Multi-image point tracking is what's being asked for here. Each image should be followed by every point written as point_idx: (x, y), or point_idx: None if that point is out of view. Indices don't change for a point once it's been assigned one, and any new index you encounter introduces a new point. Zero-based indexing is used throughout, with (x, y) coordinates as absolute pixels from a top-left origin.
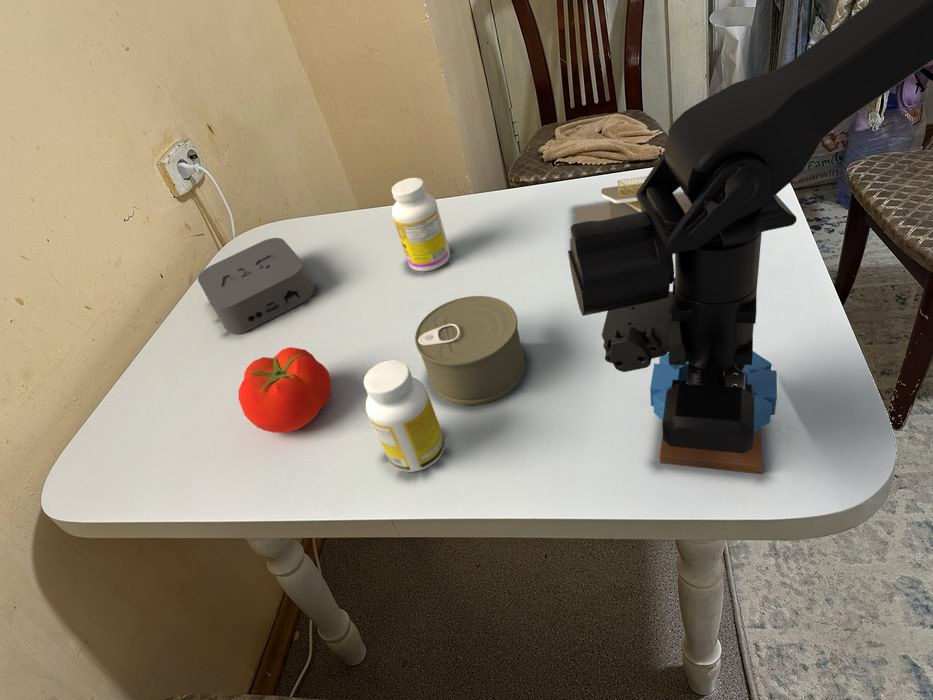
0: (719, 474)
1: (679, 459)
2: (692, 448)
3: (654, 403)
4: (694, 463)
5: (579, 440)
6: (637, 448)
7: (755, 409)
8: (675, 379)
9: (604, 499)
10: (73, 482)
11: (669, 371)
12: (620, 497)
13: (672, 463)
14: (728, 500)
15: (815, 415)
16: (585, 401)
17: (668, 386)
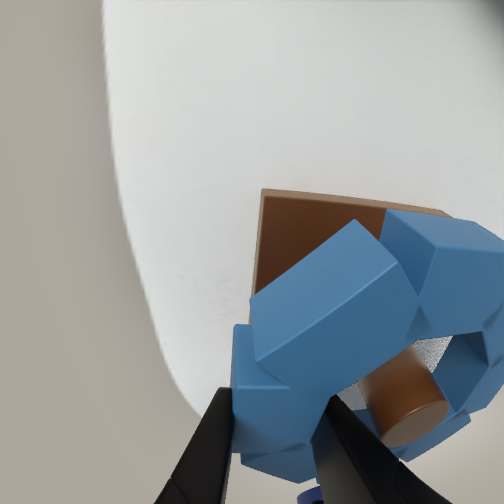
0: (239, 301)
1: (259, 238)
2: (288, 267)
3: (372, 245)
4: (255, 265)
5: (324, 4)
6: (306, 134)
7: (285, 473)
8: (449, 329)
9: (144, 72)
10: None
11: (483, 307)
12: (152, 106)
13: (259, 217)
14: (181, 313)
15: (354, 401)
16: (436, 34)
17: (427, 314)
